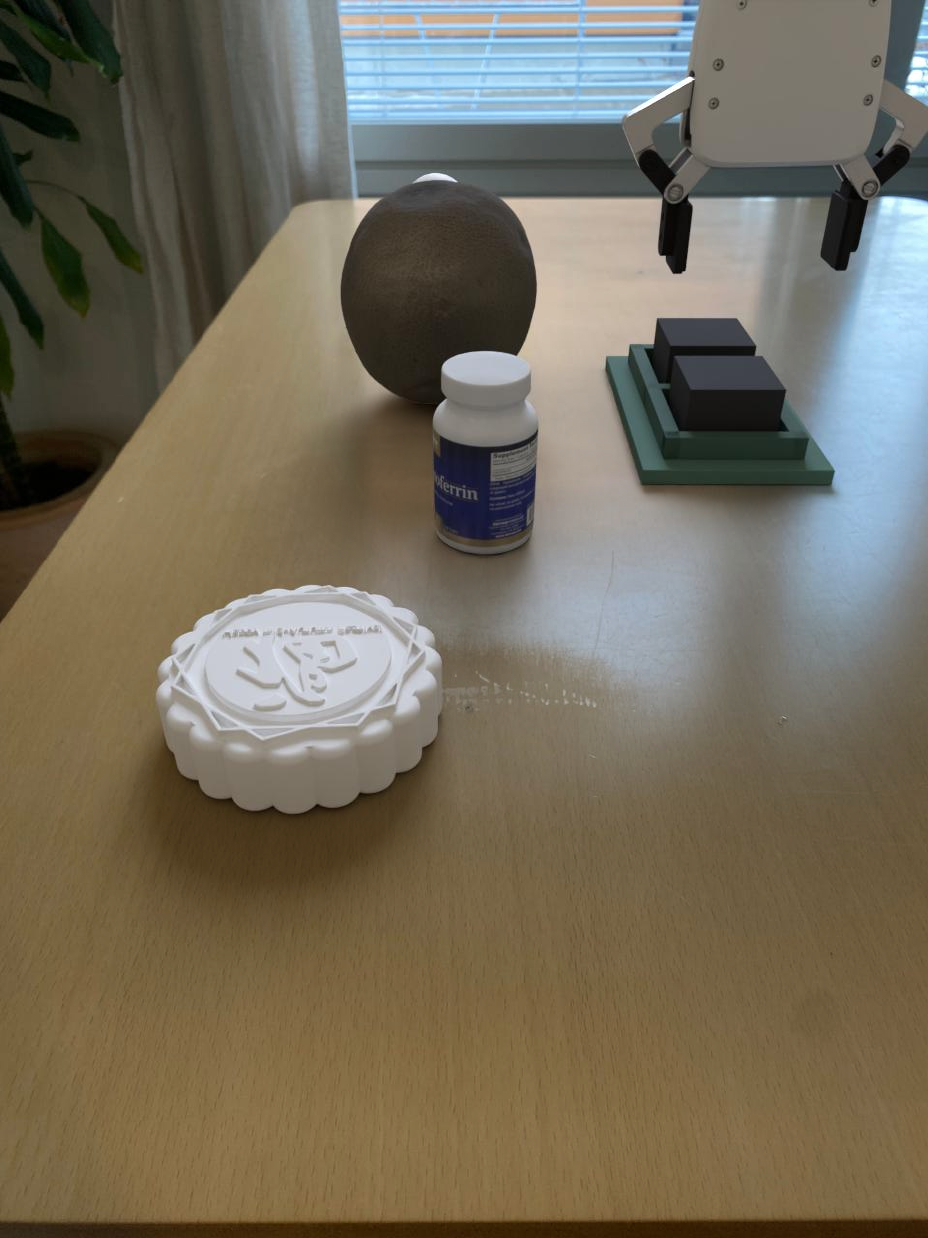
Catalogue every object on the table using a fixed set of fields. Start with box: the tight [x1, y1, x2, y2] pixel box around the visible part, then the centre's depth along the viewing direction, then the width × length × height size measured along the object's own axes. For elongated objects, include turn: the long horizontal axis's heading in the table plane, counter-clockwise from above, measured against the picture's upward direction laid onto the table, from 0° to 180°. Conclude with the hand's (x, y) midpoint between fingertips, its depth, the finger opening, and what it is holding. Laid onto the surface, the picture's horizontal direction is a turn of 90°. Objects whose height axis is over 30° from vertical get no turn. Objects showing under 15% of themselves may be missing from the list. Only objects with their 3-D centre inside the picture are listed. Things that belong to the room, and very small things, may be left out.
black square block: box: [651, 317, 758, 384], centre depth 69 cm, size 6×6×4 cm
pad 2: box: [668, 355, 787, 432], centre depth 63 cm, size 6×6×4 cm
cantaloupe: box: [340, 180, 538, 405], centre depth 66 cm, size 14×14×15 cm
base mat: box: [604, 343, 836, 485], centre depth 67 cm, size 12×20×2 cm, turn 0°
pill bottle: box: [432, 351, 539, 555], centre depth 52 cm, size 6×6×10 cm
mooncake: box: [155, 584, 443, 815], centre depth 41 cm, size 12×12×4 cm
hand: (753, 265), depth 58 cm, fingers open, 9 cm apart
